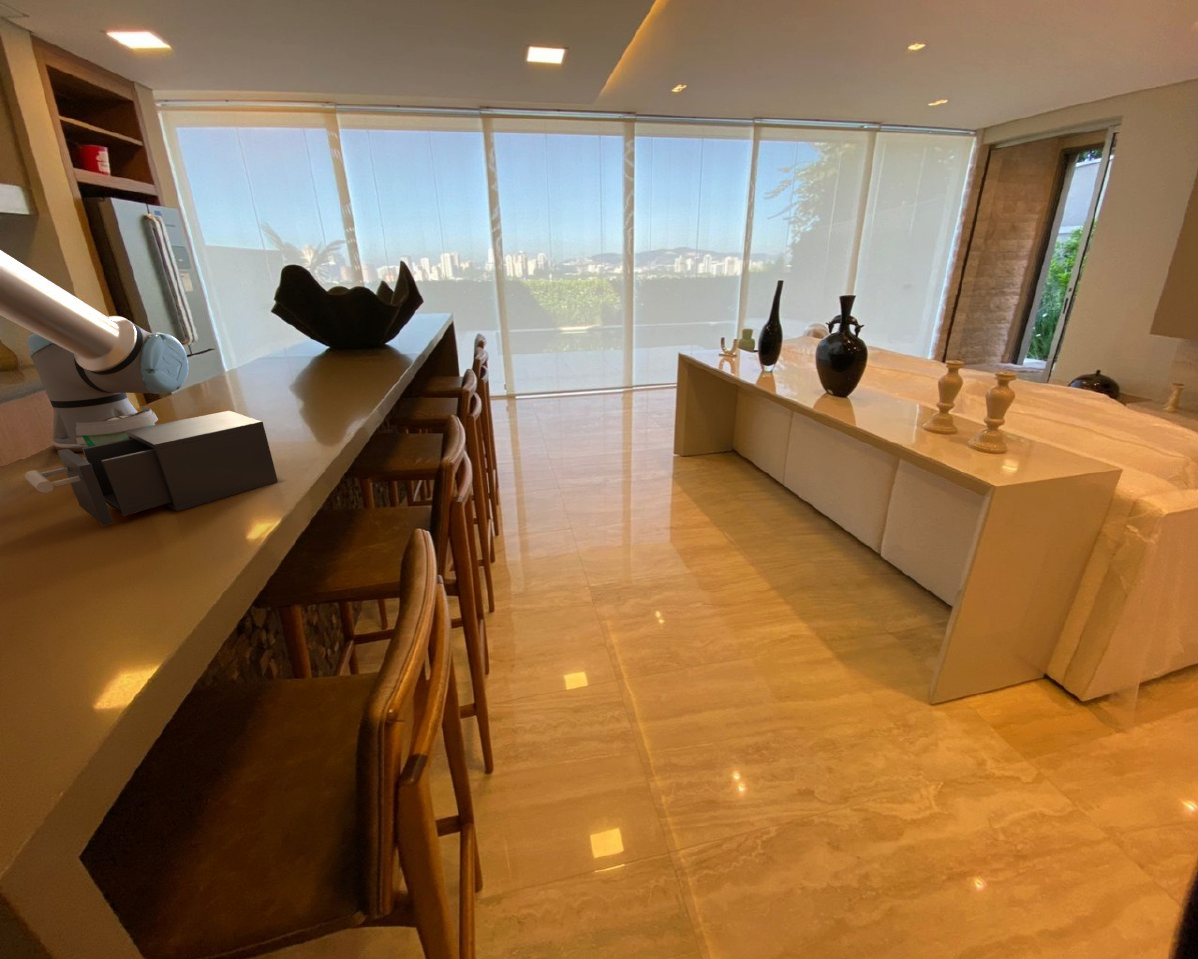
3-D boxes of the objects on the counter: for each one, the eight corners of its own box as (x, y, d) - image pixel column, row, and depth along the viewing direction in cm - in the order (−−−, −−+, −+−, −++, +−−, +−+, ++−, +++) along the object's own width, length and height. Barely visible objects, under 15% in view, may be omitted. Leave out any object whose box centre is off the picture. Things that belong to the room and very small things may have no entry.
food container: (122, 481, 91) (101, 425, 87) (94, 479, 92) (72, 423, 88) (187, 457, 102) (171, 407, 98) (161, 455, 103) (144, 405, 99)
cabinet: (176, 511, 79) (154, 444, 75) (147, 493, 86) (125, 430, 82) (278, 481, 90) (262, 421, 86) (245, 466, 97) (229, 410, 93)
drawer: (60, 538, 70) (33, 476, 66) (40, 516, 76) (14, 459, 72) (213, 493, 83) (197, 440, 80) (185, 478, 89) (169, 428, 86)
